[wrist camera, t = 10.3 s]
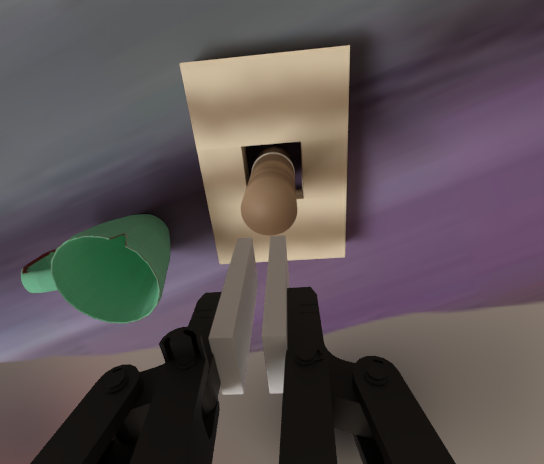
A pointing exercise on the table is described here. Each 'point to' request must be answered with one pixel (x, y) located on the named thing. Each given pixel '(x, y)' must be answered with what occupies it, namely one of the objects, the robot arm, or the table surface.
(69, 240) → the mug
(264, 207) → the peg
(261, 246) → the board
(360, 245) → the table surface
